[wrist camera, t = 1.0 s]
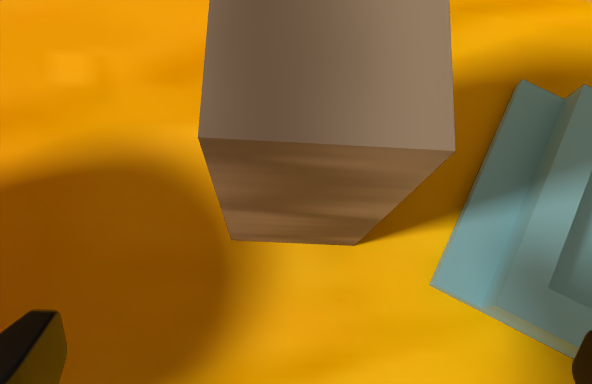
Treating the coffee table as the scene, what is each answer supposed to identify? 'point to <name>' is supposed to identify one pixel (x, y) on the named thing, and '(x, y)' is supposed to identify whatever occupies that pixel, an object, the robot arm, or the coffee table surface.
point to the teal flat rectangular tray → (530, 222)
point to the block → (323, 112)
